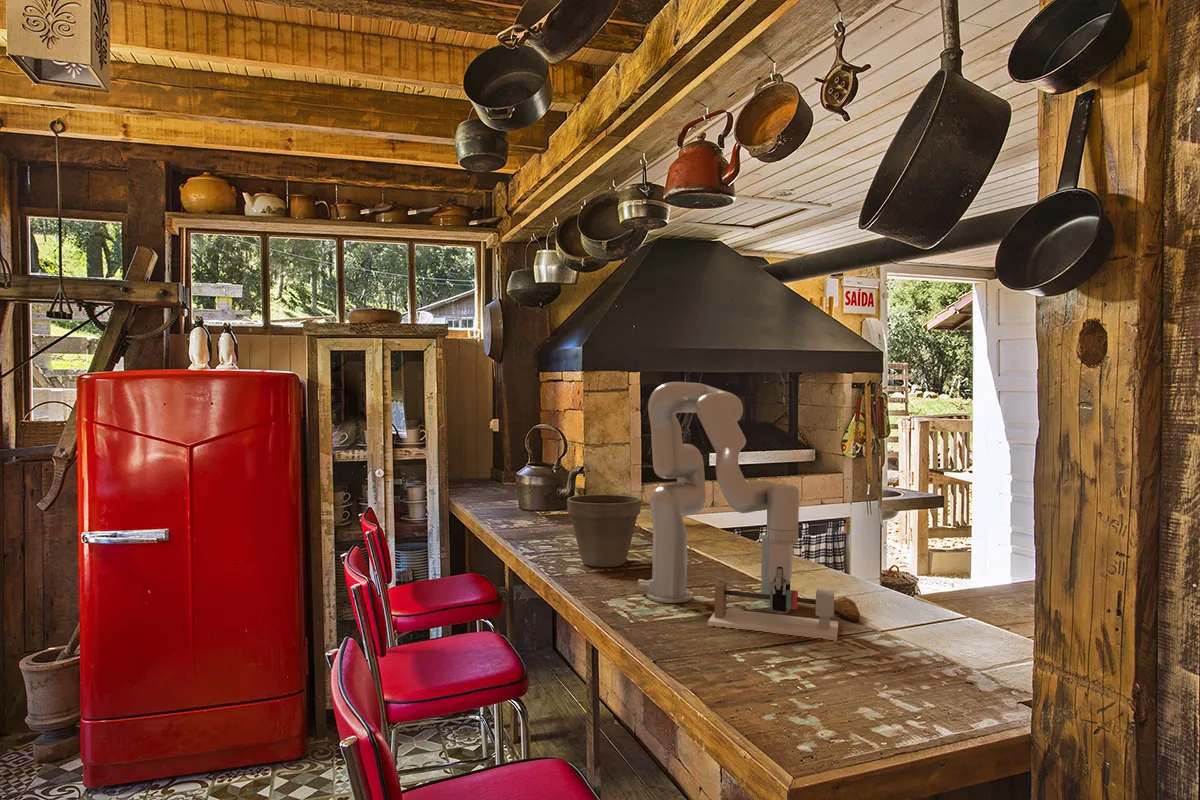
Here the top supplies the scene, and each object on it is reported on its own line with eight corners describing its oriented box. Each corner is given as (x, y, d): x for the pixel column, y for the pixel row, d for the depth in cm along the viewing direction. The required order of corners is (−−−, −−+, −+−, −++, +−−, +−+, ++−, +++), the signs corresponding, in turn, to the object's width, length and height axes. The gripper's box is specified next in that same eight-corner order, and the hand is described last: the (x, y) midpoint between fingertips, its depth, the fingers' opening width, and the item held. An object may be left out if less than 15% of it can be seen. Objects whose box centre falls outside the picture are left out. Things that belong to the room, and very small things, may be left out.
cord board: (707, 625, 178) (708, 587, 178) (716, 612, 189) (717, 575, 189) (836, 641, 168) (837, 600, 168) (838, 626, 179) (838, 587, 179)
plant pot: (555, 557, 250) (556, 494, 250) (619, 552, 260) (620, 491, 260) (584, 574, 227) (585, 505, 227) (653, 567, 238) (654, 501, 238)
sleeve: (769, 606, 177) (770, 591, 177) (771, 602, 180) (771, 588, 180) (791, 608, 175) (791, 593, 175) (792, 604, 179) (792, 590, 179)
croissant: (820, 608, 194) (821, 590, 194) (845, 608, 195) (845, 589, 195) (843, 624, 181) (843, 604, 181) (869, 624, 182) (869, 604, 182)
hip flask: (791, 613, 189) (793, 536, 189) (776, 613, 189) (777, 536, 189) (770, 596, 205) (771, 525, 205) (756, 596, 205) (757, 525, 204)
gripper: (770, 528, 187) (769, 594, 187) (762, 540, 171) (761, 613, 171) (800, 530, 185) (799, 597, 185) (795, 543, 168) (794, 617, 168)
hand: (781, 605), depth 178 cm, fingers open, 9 cm apart
